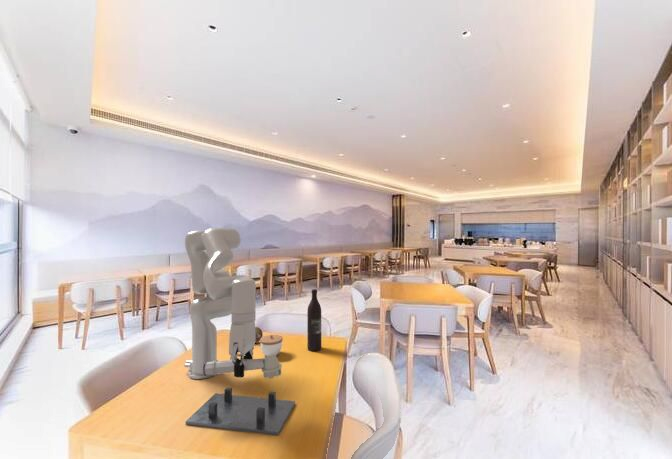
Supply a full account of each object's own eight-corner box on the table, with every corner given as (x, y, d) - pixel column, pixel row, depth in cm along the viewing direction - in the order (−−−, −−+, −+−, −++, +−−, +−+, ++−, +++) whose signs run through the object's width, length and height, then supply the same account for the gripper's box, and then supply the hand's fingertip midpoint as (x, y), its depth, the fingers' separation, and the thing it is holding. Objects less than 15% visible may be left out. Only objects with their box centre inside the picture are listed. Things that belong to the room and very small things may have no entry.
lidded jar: (256, 354, 144) (256, 334, 144) (275, 348, 151) (275, 329, 151) (267, 361, 136) (267, 340, 136) (286, 354, 143) (286, 335, 143)
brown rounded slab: (234, 342, 159) (234, 327, 159) (237, 340, 162) (237, 325, 162) (260, 344, 156) (260, 328, 156) (263, 342, 159) (263, 326, 159)
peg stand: (185, 424, 91) (185, 408, 91) (215, 396, 107) (215, 382, 107) (278, 435, 86) (278, 418, 86) (295, 404, 102) (295, 389, 102)
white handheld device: (208, 358, 100) (281, 350, 98) (211, 378, 100) (284, 370, 98) (201, 365, 94) (277, 356, 93) (203, 386, 94) (280, 377, 93)
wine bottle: (310, 352, 145) (309, 291, 145) (305, 347, 152) (305, 289, 152) (323, 350, 148) (323, 290, 148) (318, 345, 154) (318, 288, 155)
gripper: (245, 309, 106) (245, 360, 105) (218, 324, 89) (218, 384, 89) (265, 310, 104) (265, 361, 104) (241, 325, 88) (241, 386, 87)
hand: (243, 371), depth 96 cm, fingers closed on white handheld device, 5 cm apart
